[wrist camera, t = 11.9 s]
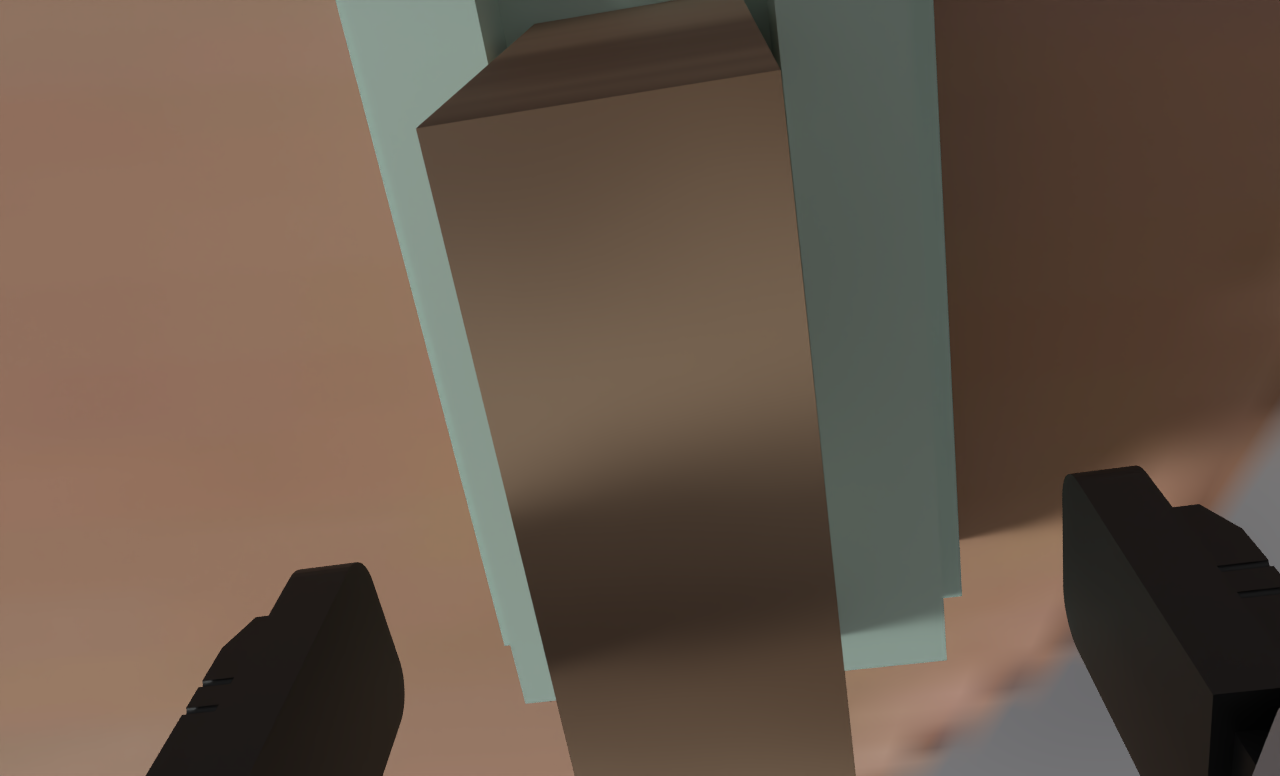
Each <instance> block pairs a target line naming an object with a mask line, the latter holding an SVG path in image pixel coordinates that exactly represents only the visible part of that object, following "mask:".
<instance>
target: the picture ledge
mask: <svg viewBox="0 0 1280 776" xmlns="http://www.w3.org/2000/svg"><path fill="white" fill-rule="evenodd" d="M667 1H673V0H336V4H337V7H338V11H339V15H340V19H341V23H342V27H343V30H344V34H345V38H346V42H347V46H348V49H349V53H350V57H351V61H352V65H353V69H354V72H355V76H356V80H357V84H358V88H359V91H360V95H361V99H362V103H363V107H364V111H365V114H366V118H367V122H368V126H369V130H370V133H371V137H372V141H373V145H374V149H375V153H376V156H377V160H378V164H379V168H380V172H381V175H382V179H383V183H384V187H385V191H386V195H387V198H388V202H389V206H390V210H391V214H392V217H393V221H394V225H395V229H396V233H397V237H398V240H399V244H400V248H401V252H402V256H403V259H404V263H405V267H406V271H407V275H408V279H409V282H410V286H411V290H412V294H413V298H414V301H415V305H416V309H417V313H418V317H419V321H420V324H421V328H422V332H423V336H424V340H425V343H426V347H427V351H428V355H429V359H430V363H431V366H432V370H433V374H434V378H435V382H436V385H437V389H438V393H439V397H440V401H441V405H442V408H443V412H444V416H445V420H446V424H447V427H448V431H449V435H450V439H451V443H452V447H453V450H454V454H455V458H456V462H457V466H458V469H459V473H460V477H461V481H462V485H463V489H464V492H465V496H466V500H467V504H468V508H469V511H470V515H471V519H472V523H473V527H474V531H475V534H476V538H477V542H478V546H479V550H480V553H481V557H482V561H483V565H484V569H485V573H486V576H487V580H488V584H489V588H490V592H491V595H492V599H493V603H494V607H495V611H496V615H497V618H498V622H499V626H500V630H501V634H502V637H503V641H504V645H505V646H507V645H511V649H512V653H513V657H514V661H515V665H516V669H517V672H518V676H519V680H520V684H521V688H522V692H523V696H524V699H525V703H536V702H546V701H555V700H556V697H555V693H554V689H553V685H552V681H551V677H550V673H549V669H548V665H547V661H546V657H545V652H544V648H543V644H542V640H541V636H540V632H539V628H538V624H537V620H536V616H535V612H534V608H533V604H532V600H531V595H530V591H529V587H528V583H527V579H526V575H525V571H524V567H523V563H522V559H521V555H520V551H519V547H518V542H517V538H516V534H515V530H514V526H513V522H512V518H511V514H510V510H509V506H508V502H507V498H506V494H505V490H504V485H503V481H502V477H501V473H500V469H499V465H498V461H497V457H496V453H495V449H494V445H493V441H492V437H491V433H490V428H489V424H488V420H487V416H486V412H485V408H484V404H483V400H482V396H481V392H480V388H479V384H478V380H477V375H476V371H475V367H474V363H473V359H472V355H471V351H470V347H469V343H468V339H467V335H466V331H465V327H464V323H463V318H462V314H461V310H460V306H459V302H458V298H457V294H456V290H455V286H454V282H453V278H452V274H451V270H450V266H449V261H448V257H447V253H446V249H445V245H444V241H443V237H442V233H441V229H440V225H439V221H438V217H437V213H436V208H435V204H434V200H433V196H432V192H431V188H430V184H429V180H428V176H427V172H426V168H425V164H424V160H423V156H422V151H421V147H420V143H419V139H418V135H417V131H416V128H417V127H418V126H419V125H420V124H421V123H422V122H424V121H425V120H426V119H427V118H428V117H429V116H430V115H432V114H433V113H434V112H435V111H436V110H437V109H438V108H440V107H441V106H442V105H443V104H444V103H445V102H446V101H447V100H449V99H450V98H451V97H452V96H453V95H454V94H455V93H457V92H458V91H459V90H460V89H461V88H462V87H463V86H464V85H466V84H467V83H468V82H469V81H470V80H471V79H472V78H474V77H475V76H476V75H477V74H478V73H479V72H480V71H482V70H483V69H484V68H485V67H486V66H487V65H488V64H489V63H491V62H492V61H493V60H494V59H495V58H496V57H497V56H499V55H500V54H501V53H502V52H503V51H504V50H505V49H506V48H508V47H509V46H510V45H511V44H512V43H513V42H514V41H516V40H517V39H518V38H519V37H520V36H521V35H522V34H523V33H525V32H526V31H527V30H528V29H529V28H530V27H531V26H533V25H534V24H537V23H543V22H549V21H555V20H561V19H566V18H572V17H578V16H584V15H590V14H596V13H602V12H608V11H614V10H620V9H626V8H632V7H638V6H643V5H649V4H655V3H661V2H667ZM744 2H745V4H746V6H747V8H748V10H749V12H750V13H751V15H752V17H753V19H754V21H755V23H756V25H757V27H758V28H759V30H760V32H761V34H762V36H763V38H764V40H765V41H766V43H767V45H768V47H769V49H770V51H771V53H772V55H773V56H774V58H775V60H776V62H777V64H778V66H779V68H780V70H781V78H782V88H783V97H784V106H785V116H786V125H787V135H788V144H789V153H790V163H791V172H792V182H793V191H794V200H795V210H796V219H797V229H798V238H799V247H800V257H801V266H802V276H803V285H804V294H805V304H806V313H807V323H808V332H809V341H810V351H811V360H812V370H813V379H814V388H815V398H816V407H817V417H818V426H819V435H820V445H821V454H822V464H823V473H824V483H825V492H826V501H827V511H828V520H829V530H830V539H831V548H832V558H833V567H834V577H835V586H836V595H837V605H838V614H839V624H840V633H841V642H842V652H843V661H844V670H845V671H847V670H856V669H866V668H876V667H885V666H895V665H905V664H915V663H924V662H934V661H944V660H947V657H946V639H945V621H944V603H943V598H948V597H957V596H962V588H961V567H960V547H959V526H958V505H957V484H956V463H955V442H954V421H953V401H952V380H951V359H950V338H949V317H948V296H947V275H946V255H945V234H944V213H943V192H942V171H941V150H940V129H939V108H938V88H937V67H936V46H935V25H934V4H933V0H744Z"/></svg>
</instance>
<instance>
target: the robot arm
mask: <svg viewBox="0 0 1280 776" xmlns="http://www.w3.org/2000/svg"><path fill="white" fill-rule="evenodd" d="M1062 507H1063V590H1064V602H1065V609H1066V614H1067V619H1068V623H1069V627H1070V631H1071V634H1072V637H1073V640H1074V642H1075V645H1076V647H1077V649H1078V651H1079V653H1080V655H1081V657H1082V659H1083V661H1084V663H1085V665H1086V667H1087V669H1088V672H1089V673H1090V676H1091V678H1092V680H1093V682H1094V683H1095V686H1096V687H1097V690H1098V692H1099V694H1100V696H1101V697H1102V700H1103V702H1104V703H1105V706H1106V708H1107V710H1108V712H1109V714H1110V716H1111V718H1112V719H1113V722H1114V723H1115V726H1116V728H1117V730H1118V732H1119V734H1120V736H1121V738H1122V739H1123V742H1124V744H1125V746H1126V748H1127V750H1128V751H1129V754H1130V756H1131V758H1132V760H1133V761H1134V764H1135V766H1136V768H1137V770H1138V772H1139V774H1140V776H1280V573H1279V572H1278V571H1277V570H1276V568H1275V567H1274V566H1269V562H1268V559H1267V558H1266V556H1265V555H1264V554H1263V553H1262V552H1261V550H1260V549H1259V548H1258V547H1257V546H1256V544H1255V543H1254V542H1253V541H1252V540H1251V539H1250V537H1249V536H1248V535H1247V534H1246V533H1245V531H1244V530H1243V529H1242V528H1240V527H1238V526H1236V525H1235V524H1233V523H1231V522H1230V521H1228V520H1226V519H1224V518H1223V517H1221V516H1219V515H1217V514H1216V513H1214V512H1212V511H1210V510H1208V509H1207V508H1205V507H1203V506H1201V505H1200V504H1197V505H1189V506H1181V507H1172V506H1171V505H1170V503H1169V502H1168V501H1167V500H1166V498H1165V497H1164V496H1163V494H1162V493H1161V492H1160V490H1159V489H1158V488H1157V486H1156V485H1155V484H1154V482H1153V481H1152V480H1151V478H1150V477H1149V476H1148V474H1147V473H1146V472H1145V471H1144V470H1143V468H1141V467H1140V466H1129V467H1121V468H1113V469H1105V470H1097V471H1089V472H1081V473H1074V474H1068V475H1067V476H1066V477H1065V479H1064V483H1063V492H1062ZM186 709H187V714H186V715H182V716H181V718H180V719H179V721H178V723H177V724H176V726H175V728H174V729H173V731H172V733H171V734H170V736H169V738H168V739H167V741H166V743H165V744H164V746H163V748H162V749H161V751H160V753H159V754H158V756H157V758H156V759H155V761H154V763H153V764H152V766H151V768H150V769H149V771H148V773H147V774H146V776H383V773H384V770H385V767H386V764H387V761H388V758H389V755H390V752H391V749H392V746H393V743H394V740H395V737H396V734H397V731H398V728H399V725H400V722H401V719H402V715H403V709H404V679H403V673H402V668H401V664H400V661H399V658H398V655H397V652H396V649H395V646H394V643H393V640H392V637H391V634H390V631H389V628H388V625H387V622H386V619H385V616H384V613H383V610H382V607H381V604H380V602H379V599H378V596H377V593H376V590H375V587H374V584H373V581H372V578H371V576H370V574H369V572H368V570H367V568H366V567H365V566H364V565H363V564H361V563H359V562H356V563H348V564H340V565H332V566H324V567H316V568H308V569H300V570H297V571H295V572H294V573H293V574H292V576H291V577H290V579H289V580H288V582H287V584H286V586H285V588H284V589H283V591H282V593H281V595H280V596H279V598H278V600H277V602H276V604H275V605H274V607H273V609H272V611H271V613H270V614H269V616H262V617H256V618H255V619H254V620H252V621H251V622H250V623H249V624H248V625H247V626H246V627H245V628H244V629H242V630H241V631H240V632H239V633H238V634H237V635H236V636H235V637H234V638H233V639H231V640H230V641H229V642H228V643H227V644H226V645H225V646H224V647H223V648H222V649H221V651H220V652H219V654H218V656H217V657H216V659H215V661H214V662H213V664H212V666H211V667H210V669H209V671H208V672H207V674H206V676H205V677H204V679H203V687H199V688H198V689H197V691H196V692H195V694H194V696H193V697H192V699H191V701H190V702H189V704H188V706H187V708H186Z"/></svg>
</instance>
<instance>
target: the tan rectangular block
mask: <svg viewBox="0 0 1280 776" xmlns="http://www.w3.org/2000/svg"><path fill="white" fill-rule="evenodd" d="M416 131H417V135H418V139H419V143H420V147H421V151H422V156H423V160H424V164H425V168H426V172H427V176H428V180H429V184H430V188H431V192H432V196H433V200H434V204H435V208H436V213H437V217H438V221H439V225H440V229H441V233H442V237H443V241H444V245H445V249H446V253H447V257H448V261H449V266H450V270H451V274H452V278H453V282H454V286H455V290H456V294H457V298H458V302H459V306H460V310H461V314H462V318H463V323H464V327H465V331H466V335H467V339H468V343H469V347H470V351H471V355H472V359H473V363H474V367H475V371H476V375H477V380H478V384H479V388H480V392H481V396H482V400H483V404H484V408H485V412H486V416H487V420H488V424H489V428H490V433H491V437H492V441H493V445H494V449H495V453H496V457H497V461H498V465H499V469H500V473H501V477H502V481H503V485H504V490H505V494H506V498H507V502H508V506H509V510H510V514H511V518H512V522H513V526H514V530H515V534H516V538H517V542H518V547H519V551H520V555H521V559H522V563H523V567H524V571H525V575H526V579H527V583H528V587H529V591H530V595H531V600H532V604H533V608H534V612H535V616H536V620H537V624H538V628H539V632H540V636H541V640H542V644H543V648H544V652H545V657H546V661H547V665H548V669H549V673H550V677H551V681H552V685H553V689H554V693H555V697H556V701H557V705H558V709H559V714H560V718H561V722H562V726H563V730H564V734H565V738H566V742H567V746H568V750H569V754H570V758H571V762H572V766H573V771H574V775H575V776H856V774H855V765H854V755H853V746H852V736H851V727H850V718H849V708H848V699H847V689H846V680H845V671H844V661H843V652H842V642H841V633H840V624H839V614H838V605H837V595H836V586H835V577H834V567H833V558H832V548H831V539H830V530H829V520H828V511H827V501H826V492H825V483H824V473H823V464H822V454H821V445H820V435H819V426H818V417H817V407H816V398H815V388H814V379H813V370H812V360H811V351H810V341H809V332H808V323H807V313H806V304H805V294H804V285H803V276H802V266H801V257H800V247H799V238H798V229H797V219H796V210H795V200H794V191H793V182H792V172H791V163H790V153H789V144H788V135H787V125H786V116H785V106H784V97H783V88H782V78H781V70H780V68H779V66H778V64H777V62H776V60H775V58H774V56H773V55H772V53H771V51H770V49H769V47H768V45H767V43H766V41H765V40H764V38H763V36H762V34H761V32H760V30H759V28H758V27H757V25H756V23H755V21H754V19H753V17H752V15H751V13H750V12H749V10H748V8H747V6H746V4H745V2H744V0H673V1H667V2H661V3H655V4H649V5H643V6H638V7H632V8H626V9H620V10H614V11H608V12H602V13H596V14H590V15H584V16H578V17H572V18H566V19H561V20H555V21H549V22H543V23H537V24H534V25H533V26H531V27H530V28H529V29H528V30H527V31H526V32H525V33H523V34H522V35H521V36H520V37H519V38H518V39H517V40H516V41H514V42H513V43H512V44H511V45H510V46H509V47H508V48H506V49H505V50H504V51H503V52H502V53H501V54H500V55H499V56H497V57H496V58H495V59H494V60H493V61H492V62H491V63H489V64H488V65H487V66H486V67H485V68H484V69H483V70H482V71H480V72H479V73H478V74H477V75H476V76H475V77H474V78H472V79H471V80H470V81H469V82H468V83H467V84H466V85H464V86H463V87H462V88H461V89H460V90H459V91H458V92H457V93H455V94H454V95H453V96H452V97H451V98H450V99H449V100H447V101H446V102H445V103H444V104H443V105H442V106H441V107H440V108H438V109H437V110H436V111H435V112H434V113H433V114H432V115H430V116H429V117H428V118H427V119H426V120H425V121H424V122H422V123H421V124H420V125H419V126H418V127H417V128H416Z"/></svg>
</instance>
